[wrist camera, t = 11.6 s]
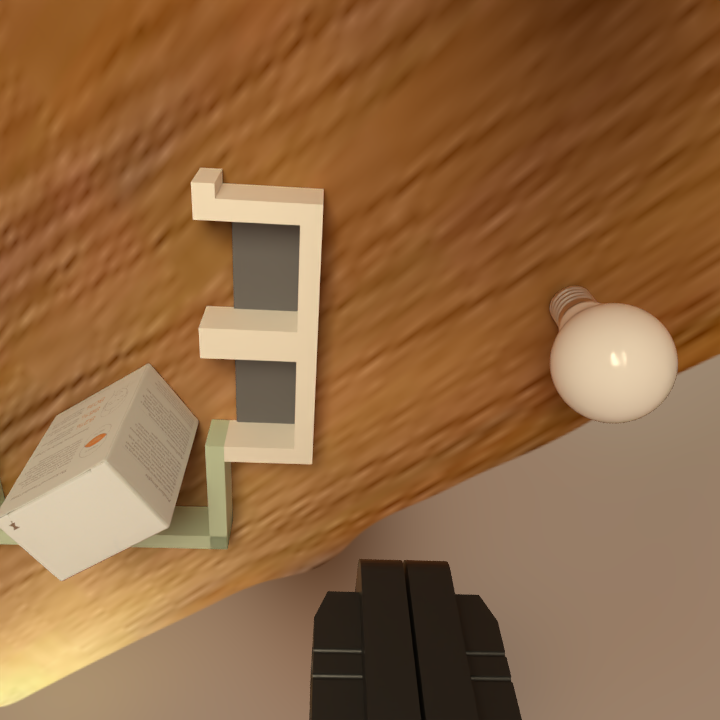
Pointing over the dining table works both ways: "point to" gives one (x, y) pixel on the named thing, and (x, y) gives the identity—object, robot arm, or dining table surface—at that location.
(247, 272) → the channel
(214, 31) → the dining table surface
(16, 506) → the small box
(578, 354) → the lightbulb
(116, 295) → the dining table surface
